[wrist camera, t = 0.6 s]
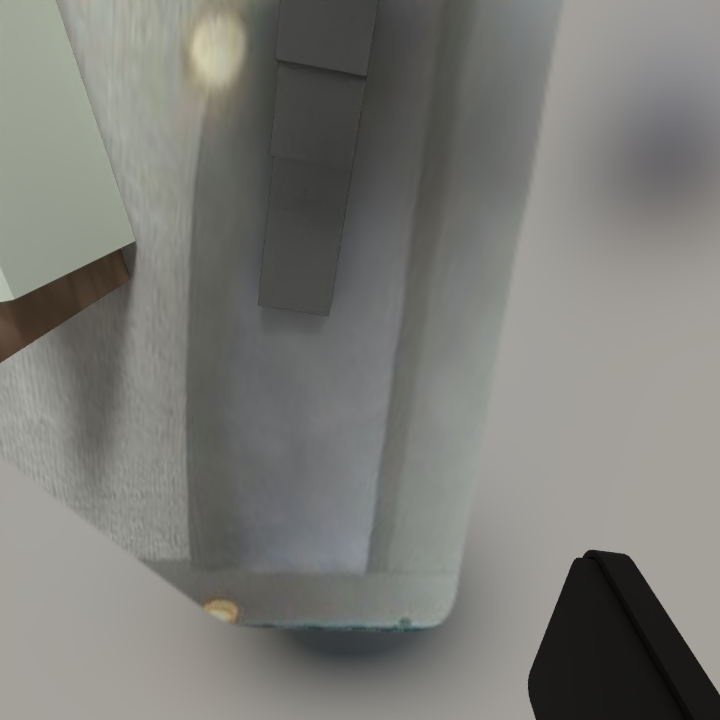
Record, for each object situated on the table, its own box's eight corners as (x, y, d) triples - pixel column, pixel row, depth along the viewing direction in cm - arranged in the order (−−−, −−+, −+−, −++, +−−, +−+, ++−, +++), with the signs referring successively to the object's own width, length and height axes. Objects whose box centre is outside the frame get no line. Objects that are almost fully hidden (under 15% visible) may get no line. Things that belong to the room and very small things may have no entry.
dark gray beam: (297, -21, 27) (285, -53, 22) (378, -5, 27) (383, -33, 23) (263, 295, 33) (248, 321, 28) (330, 306, 33) (326, 334, 29)
